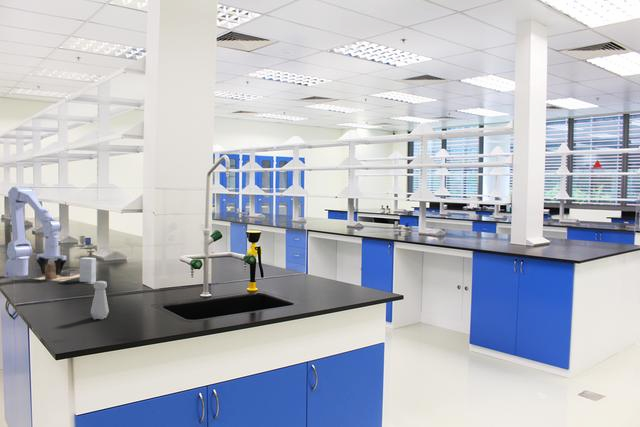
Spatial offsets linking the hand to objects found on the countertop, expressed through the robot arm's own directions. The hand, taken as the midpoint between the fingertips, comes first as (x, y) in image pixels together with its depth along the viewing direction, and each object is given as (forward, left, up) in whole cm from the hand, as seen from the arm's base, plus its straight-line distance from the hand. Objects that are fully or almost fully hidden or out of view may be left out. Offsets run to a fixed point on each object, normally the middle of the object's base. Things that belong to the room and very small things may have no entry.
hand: (51, 274), depth 237 cm
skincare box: (+18, +2, -4) cm, 18 cm away
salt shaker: (+62, -52, -4) cm, 81 cm away
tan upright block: (0, 0, -2) cm, 2 cm away
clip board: (0, +8, -3) cm, 9 cm away
